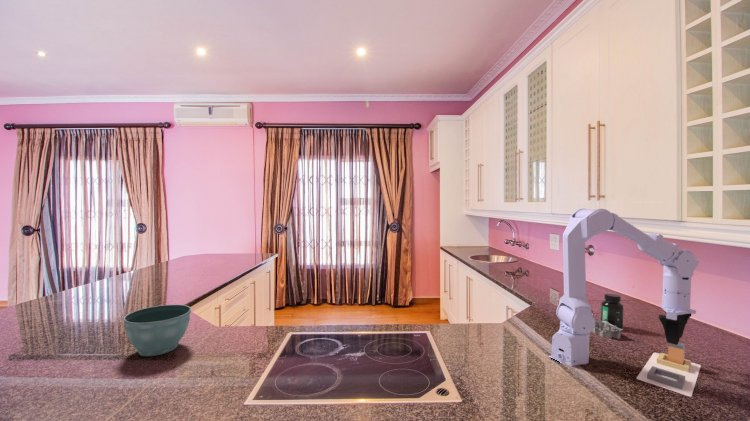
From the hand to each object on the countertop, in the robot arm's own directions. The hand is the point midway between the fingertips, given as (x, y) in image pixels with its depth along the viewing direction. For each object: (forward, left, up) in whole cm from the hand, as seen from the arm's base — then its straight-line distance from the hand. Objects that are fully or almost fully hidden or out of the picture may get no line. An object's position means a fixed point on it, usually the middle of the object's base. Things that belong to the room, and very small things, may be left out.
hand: (674, 339), depth 89 cm
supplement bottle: (+17, +25, -8) cm, 31 cm away
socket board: (-6, -2, -8) cm, 10 cm away
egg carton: (+8, +23, -8) cm, 25 cm away
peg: (0, -1, -7) cm, 7 cm away
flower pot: (-132, +64, -8) cm, 147 cm away
